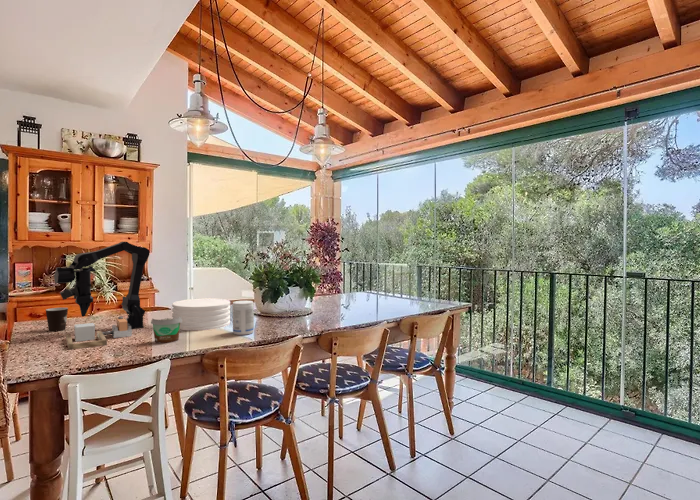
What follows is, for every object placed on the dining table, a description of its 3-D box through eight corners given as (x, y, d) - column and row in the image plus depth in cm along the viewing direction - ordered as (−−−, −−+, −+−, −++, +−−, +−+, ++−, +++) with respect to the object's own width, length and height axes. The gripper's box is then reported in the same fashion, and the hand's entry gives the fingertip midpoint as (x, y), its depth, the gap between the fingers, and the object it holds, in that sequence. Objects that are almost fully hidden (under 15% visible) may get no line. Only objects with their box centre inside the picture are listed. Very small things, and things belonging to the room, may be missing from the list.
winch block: (129, 332, 192) (129, 323, 192) (131, 335, 186) (131, 326, 186) (101, 336, 185) (101, 326, 185) (103, 339, 180) (103, 328, 180)
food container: (151, 345, 171) (151, 321, 171) (151, 341, 177) (151, 318, 176) (183, 342, 177) (183, 318, 177) (182, 338, 182) (182, 316, 182)
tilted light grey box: (93, 336, 185) (93, 322, 185) (95, 339, 179) (95, 325, 179) (74, 338, 180) (74, 324, 180) (75, 341, 175) (75, 327, 175)
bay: (101, 335, 186) (101, 331, 186) (106, 344, 170) (106, 340, 170) (66, 339, 179) (66, 334, 179) (68, 349, 163) (68, 344, 163)
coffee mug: (56, 332, 191) (56, 311, 190) (41, 331, 192) (40, 310, 192) (78, 327, 202) (77, 307, 202) (63, 326, 204) (62, 306, 203)
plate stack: (241, 323, 218) (241, 301, 217) (196, 333, 194) (196, 308, 194) (206, 317, 233) (206, 296, 232) (160, 325, 209) (160, 303, 209)
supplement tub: (252, 330, 201) (252, 300, 201) (254, 334, 192) (255, 302, 192) (231, 331, 198) (231, 300, 197) (233, 336, 189) (233, 303, 188)
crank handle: (123, 326, 191) (123, 315, 191) (127, 330, 184) (127, 319, 184) (116, 327, 189) (116, 316, 189) (119, 331, 182) (119, 319, 182)
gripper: (60, 280, 189) (60, 314, 189) (62, 284, 174) (62, 321, 174) (89, 279, 195) (89, 312, 196) (93, 283, 180) (93, 319, 181)
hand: (83, 316), depth 186 cm, fingers closed
